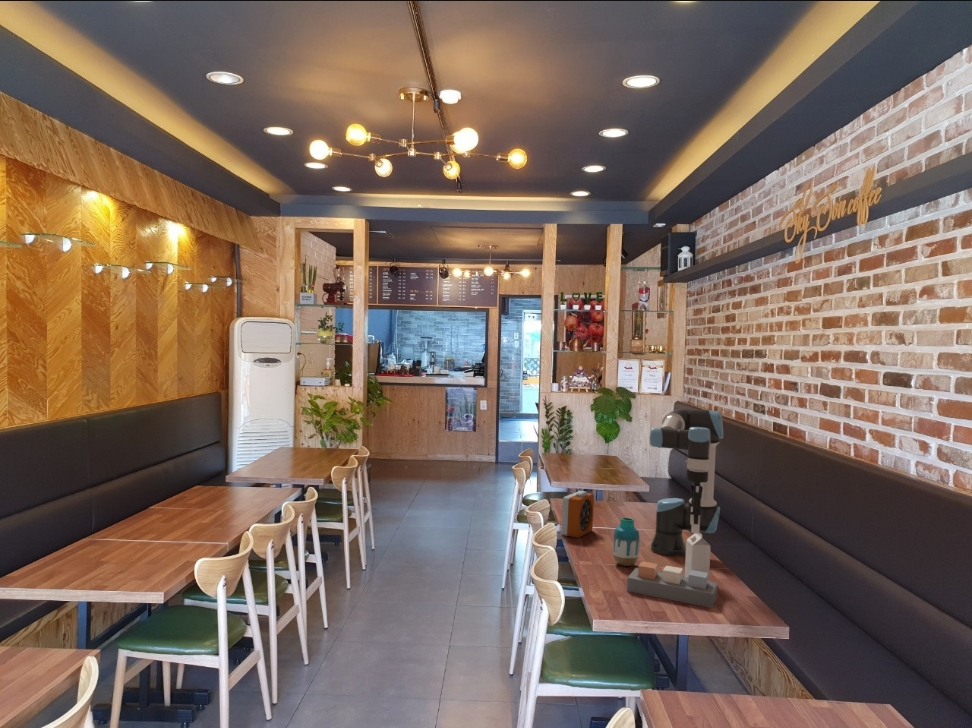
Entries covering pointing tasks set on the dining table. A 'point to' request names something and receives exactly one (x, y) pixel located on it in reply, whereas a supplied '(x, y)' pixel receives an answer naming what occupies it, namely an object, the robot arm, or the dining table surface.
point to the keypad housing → (673, 589)
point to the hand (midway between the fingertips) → (694, 528)
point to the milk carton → (697, 555)
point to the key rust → (648, 570)
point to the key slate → (698, 579)
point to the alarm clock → (577, 514)
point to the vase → (626, 542)
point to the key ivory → (672, 574)
